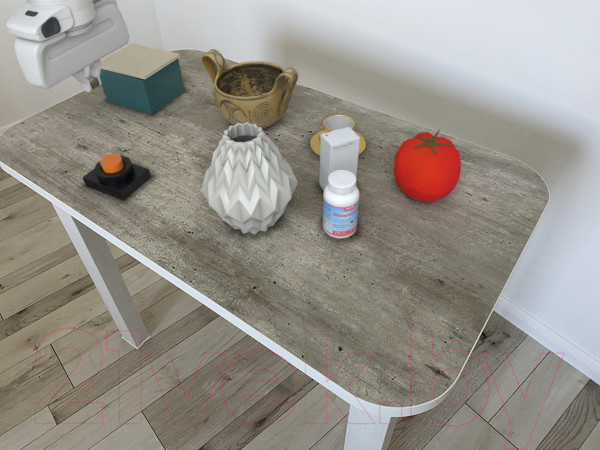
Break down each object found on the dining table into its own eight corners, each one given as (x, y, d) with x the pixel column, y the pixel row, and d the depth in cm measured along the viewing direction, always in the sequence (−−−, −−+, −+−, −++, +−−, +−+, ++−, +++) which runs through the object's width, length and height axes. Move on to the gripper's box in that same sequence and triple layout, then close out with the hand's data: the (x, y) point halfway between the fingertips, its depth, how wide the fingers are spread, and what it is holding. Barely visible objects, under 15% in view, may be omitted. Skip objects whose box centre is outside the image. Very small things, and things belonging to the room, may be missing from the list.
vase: (233, 182, 96) (220, 99, 83) (310, 201, 91) (310, 115, 78) (191, 237, 85) (169, 151, 72) (277, 262, 80) (269, 174, 67)
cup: (343, 123, 110) (344, 102, 106) (377, 148, 103) (379, 126, 99) (299, 140, 105) (298, 119, 102) (331, 168, 98) (332, 146, 94)
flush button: (98, 170, 94) (95, 163, 92) (113, 159, 96) (110, 152, 95) (113, 176, 92) (111, 168, 91) (128, 164, 95) (125, 157, 93)
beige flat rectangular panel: (180, 56, 116) (179, 53, 115) (145, 79, 108) (144, 76, 107) (132, 46, 121) (131, 43, 121) (95, 67, 113) (94, 64, 113)
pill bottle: (335, 244, 83) (337, 195, 75) (316, 224, 87) (316, 175, 79) (363, 231, 85) (368, 181, 77) (343, 211, 89) (346, 162, 81)
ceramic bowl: (194, 128, 110) (181, 66, 100) (234, 94, 121) (227, 34, 110) (279, 153, 102) (275, 88, 92) (314, 114, 113) (314, 53, 102)
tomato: (447, 169, 97) (459, 120, 89) (462, 215, 87) (476, 164, 79) (386, 170, 97) (392, 120, 89) (394, 215, 88) (402, 165, 80)
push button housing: (85, 186, 96) (78, 170, 93) (114, 164, 101) (108, 148, 98) (123, 201, 92) (117, 184, 90) (151, 177, 97) (146, 161, 95)
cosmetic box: (328, 198, 92) (330, 146, 83) (319, 185, 94) (319, 133, 86) (356, 189, 93) (360, 137, 85) (346, 176, 96) (349, 125, 88)
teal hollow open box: (185, 90, 122) (178, 57, 116) (152, 114, 115) (143, 80, 108) (140, 78, 128) (132, 46, 121) (106, 101, 120) (95, 67, 114)
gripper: (97, -16, 83) (120, 60, 93) (-4, 28, 71) (34, 111, 80) (125, -11, 81) (145, 66, 91) (25, 35, 68) (61, 120, 78)
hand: (93, 88), depth 85 cm, fingers closed
